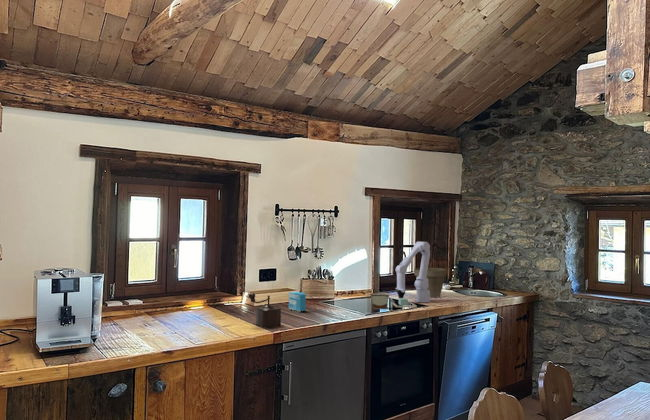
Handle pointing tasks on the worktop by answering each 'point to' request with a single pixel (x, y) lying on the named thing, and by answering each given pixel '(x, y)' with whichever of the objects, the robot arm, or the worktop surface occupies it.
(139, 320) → the worktop surface
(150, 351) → the worktop surface
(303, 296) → the light blue box
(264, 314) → the manual coffee grinder
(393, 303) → the chute
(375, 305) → the food container
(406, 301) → the painted block
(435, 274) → the plant pot
